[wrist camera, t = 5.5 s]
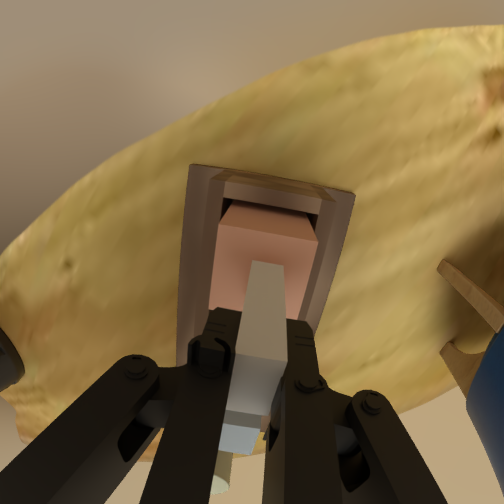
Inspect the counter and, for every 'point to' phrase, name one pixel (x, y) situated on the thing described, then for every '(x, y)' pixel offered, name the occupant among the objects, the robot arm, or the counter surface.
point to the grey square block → (239, 432)
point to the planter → (481, 370)
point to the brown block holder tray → (205, 235)
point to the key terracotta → (261, 252)
